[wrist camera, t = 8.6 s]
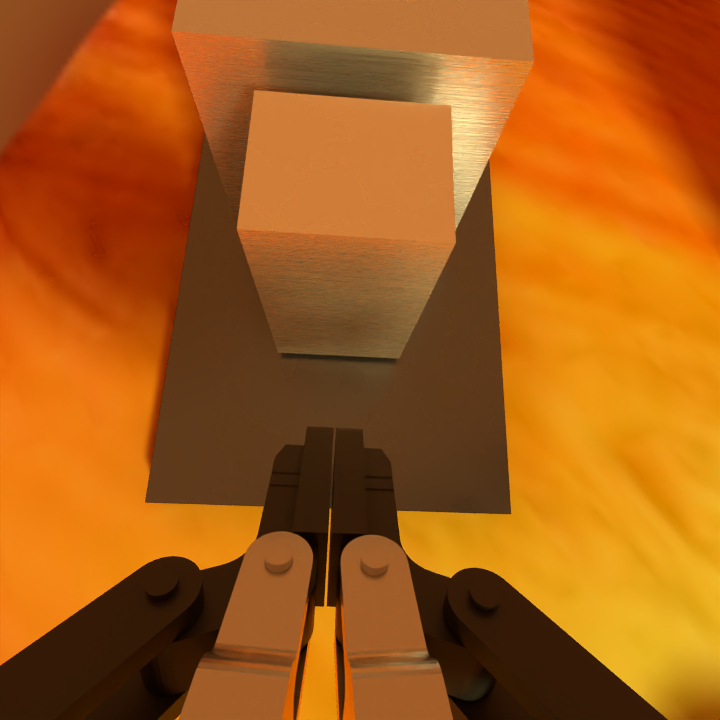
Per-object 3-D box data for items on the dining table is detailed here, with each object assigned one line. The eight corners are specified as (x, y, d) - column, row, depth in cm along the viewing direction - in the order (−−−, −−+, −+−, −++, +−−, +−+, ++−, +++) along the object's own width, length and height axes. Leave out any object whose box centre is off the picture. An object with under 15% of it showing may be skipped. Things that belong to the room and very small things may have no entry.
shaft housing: (472, 47, 27) (569, -259, 16) (497, 513, 20) (713, 526, 9) (231, 27, 27) (163, -309, 16) (159, 502, 19) (-78, 502, 8)
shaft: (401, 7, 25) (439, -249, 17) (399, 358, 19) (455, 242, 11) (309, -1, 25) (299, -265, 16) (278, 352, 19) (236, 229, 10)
